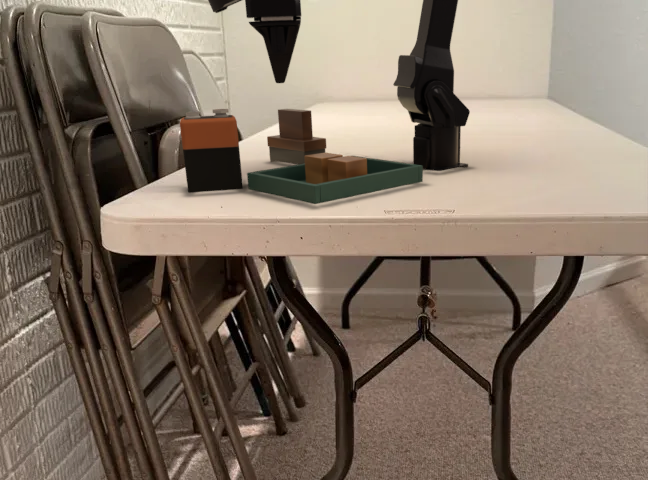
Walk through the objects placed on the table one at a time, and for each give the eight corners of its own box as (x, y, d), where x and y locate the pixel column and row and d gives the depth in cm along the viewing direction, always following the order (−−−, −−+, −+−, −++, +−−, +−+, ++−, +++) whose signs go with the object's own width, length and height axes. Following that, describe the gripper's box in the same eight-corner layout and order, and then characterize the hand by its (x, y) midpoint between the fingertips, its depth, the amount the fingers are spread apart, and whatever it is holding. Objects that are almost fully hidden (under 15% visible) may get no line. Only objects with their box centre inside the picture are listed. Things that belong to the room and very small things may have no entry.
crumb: (349, 183, 92) (348, 155, 91) (367, 186, 89) (367, 158, 88) (328, 187, 90) (327, 159, 88) (346, 191, 87) (345, 161, 86)
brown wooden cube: (326, 179, 95) (325, 152, 94) (343, 182, 93) (342, 154, 91) (305, 183, 93) (304, 155, 92) (322, 186, 90) (321, 158, 89)
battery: (243, 192, 91) (235, 110, 87) (188, 196, 89) (178, 112, 86) (241, 186, 95) (234, 107, 91) (188, 189, 93) (179, 109, 90)
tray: (353, 173, 102) (352, 155, 101) (422, 185, 92) (422, 165, 91) (248, 192, 91) (246, 172, 90) (315, 208, 81) (314, 185, 80)
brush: (290, 159, 115) (286, 107, 112) (327, 165, 109) (324, 110, 106) (268, 162, 113) (264, 109, 110) (305, 168, 106) (302, 112, 103)
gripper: (211, -46, 94) (224, 80, 100) (192, -65, 77) (209, 88, 83) (296, -48, 95) (304, 76, 101) (296, -68, 78) (305, 84, 84)
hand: (281, 81), depth 92 cm, fingers open, 9 cm apart
